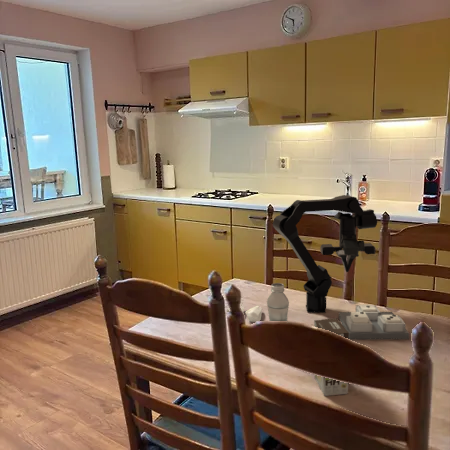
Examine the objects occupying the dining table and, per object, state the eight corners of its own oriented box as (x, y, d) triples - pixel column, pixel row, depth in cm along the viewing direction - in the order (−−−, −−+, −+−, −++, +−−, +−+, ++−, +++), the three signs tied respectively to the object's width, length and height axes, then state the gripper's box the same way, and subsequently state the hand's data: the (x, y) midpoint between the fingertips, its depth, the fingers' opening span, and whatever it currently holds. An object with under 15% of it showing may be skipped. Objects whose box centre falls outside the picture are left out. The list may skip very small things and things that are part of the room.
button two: (353, 326, 136) (353, 316, 136) (350, 320, 140) (350, 311, 140) (367, 326, 136) (368, 316, 135) (364, 320, 140) (364, 311, 140)
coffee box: (349, 394, 106) (350, 333, 103) (323, 396, 106) (324, 335, 103) (336, 374, 115) (337, 317, 112) (313, 376, 115) (313, 319, 112)
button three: (386, 329, 136) (386, 319, 135) (382, 323, 140) (382, 314, 139) (400, 329, 135) (400, 319, 135) (396, 323, 140) (396, 314, 139)
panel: (349, 339, 135) (349, 326, 134) (338, 317, 151) (338, 305, 150) (408, 339, 133) (409, 325, 132) (391, 317, 150) (392, 304, 149)
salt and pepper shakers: (258, 325, 148) (270, 314, 158) (257, 314, 147) (270, 303, 157) (227, 320, 154) (240, 309, 163) (226, 309, 153) (240, 299, 162)
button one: (362, 317, 145) (362, 308, 144) (359, 312, 149) (359, 304, 148) (376, 317, 144) (376, 308, 144) (372, 312, 149) (372, 303, 148)
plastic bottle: (284, 355, 126) (283, 290, 123) (263, 350, 130) (262, 286, 126) (293, 346, 132) (292, 283, 128) (273, 341, 135) (272, 280, 132)
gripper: (325, 235, 150) (324, 279, 152) (380, 234, 148) (379, 278, 151) (320, 229, 160) (320, 269, 163) (371, 227, 159) (370, 268, 162)
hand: (347, 271), depth 160 cm, fingers closed
